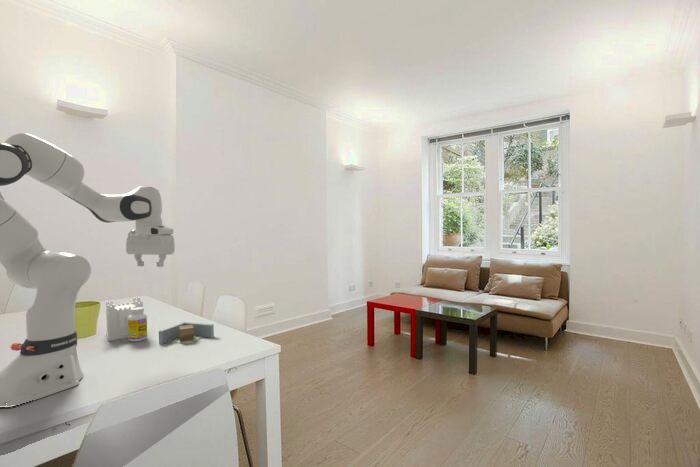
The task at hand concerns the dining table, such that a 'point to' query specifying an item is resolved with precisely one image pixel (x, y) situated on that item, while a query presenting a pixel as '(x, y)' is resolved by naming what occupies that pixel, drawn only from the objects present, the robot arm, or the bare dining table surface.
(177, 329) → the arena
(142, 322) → the supplement bottle
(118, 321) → the castle model
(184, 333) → the walnut cube
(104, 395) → the dining table surface
